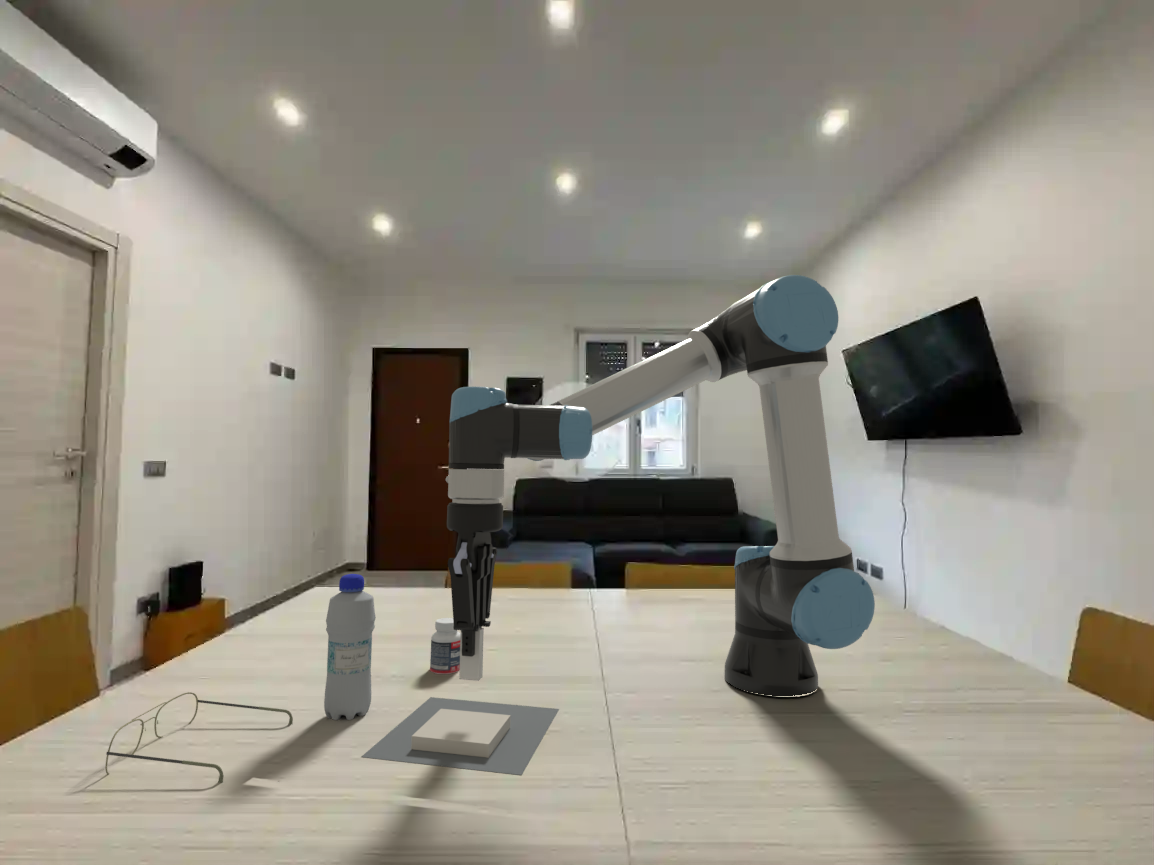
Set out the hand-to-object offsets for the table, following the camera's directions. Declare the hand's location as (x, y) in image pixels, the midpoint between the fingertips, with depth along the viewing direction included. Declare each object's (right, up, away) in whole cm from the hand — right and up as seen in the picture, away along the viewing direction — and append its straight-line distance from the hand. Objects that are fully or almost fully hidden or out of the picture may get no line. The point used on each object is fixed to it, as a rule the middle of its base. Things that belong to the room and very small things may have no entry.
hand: (470, 677), depth 83 cm
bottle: (-18, -8, +5) cm, 21 cm away
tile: (0, -6, +2) cm, 6 cm away
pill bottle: (-9, -9, +25) cm, 27 cm away
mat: (0, -7, 0) cm, 7 cm away
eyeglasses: (-33, -7, -5) cm, 34 cm away
